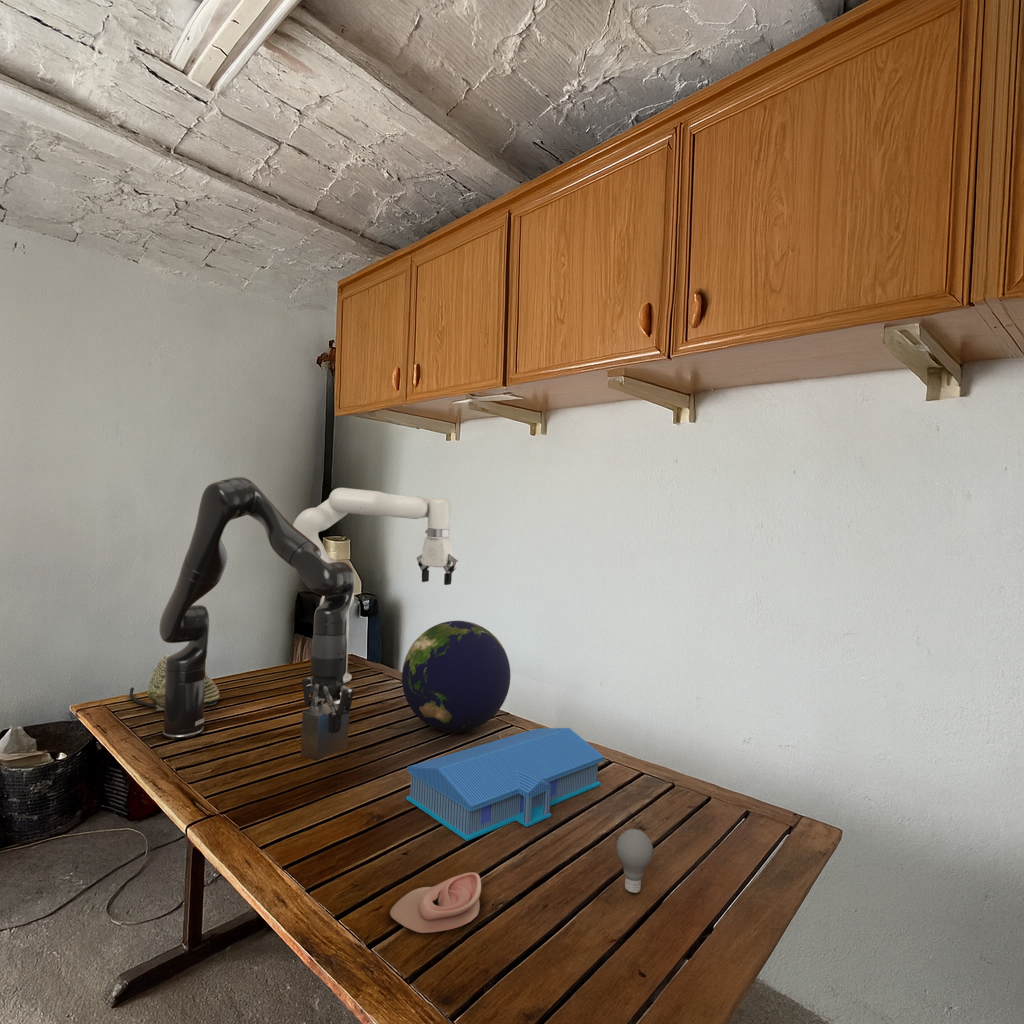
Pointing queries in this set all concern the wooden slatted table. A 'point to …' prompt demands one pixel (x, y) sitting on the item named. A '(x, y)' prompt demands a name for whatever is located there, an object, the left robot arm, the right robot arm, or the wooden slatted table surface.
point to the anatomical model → (440, 905)
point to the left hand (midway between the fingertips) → (325, 728)
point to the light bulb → (634, 857)
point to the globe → (456, 676)
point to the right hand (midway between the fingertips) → (436, 583)
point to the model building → (504, 780)
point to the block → (322, 733)
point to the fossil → (158, 687)
